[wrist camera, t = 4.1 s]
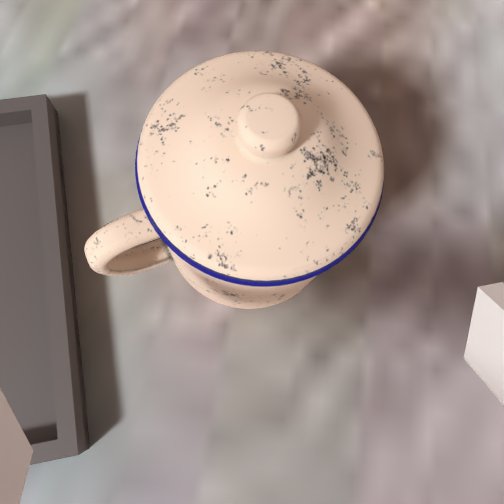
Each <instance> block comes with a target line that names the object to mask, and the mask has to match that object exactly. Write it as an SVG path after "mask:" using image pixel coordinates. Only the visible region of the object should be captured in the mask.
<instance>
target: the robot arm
mask: <svg viewBox="0 0 504 504" xmlns="http://www.w3.org/2000/svg"><path fill="white" fill-rule="evenodd" d="M464 359H465V360H466V362H467V363H468V364H469V365H470V366H471V367H472V369H473V370H474V371H475V372H476V373H477V375H478V376H479V377H480V378H481V379H482V380H483V382H484V383H485V384H486V385H487V386H488V388H489V389H490V390H491V391H492V392H493V394H494V395H495V396H496V397H497V398H498V399H499V401H500V402H501V403H502V404H503V405H504V283H503V282H500V283H495V284H490V285H484V286H479V287H478V289H477V294H476V299H475V304H474V309H473V314H472V319H471V324H470V329H469V334H468V339H467V344H466V349H465V354H464ZM32 454H33V449H32V447H31V445H30V443H29V441H28V439H27V438H26V436H25V434H24V432H23V430H22V428H21V426H20V424H19V423H18V421H17V419H16V417H15V415H14V413H13V411H12V409H11V408H10V406H9V404H8V402H7V400H6V398H5V396H4V395H3V393H2V391H1V389H0V504H19V503H20V499H21V495H22V491H23V488H24V484H25V480H26V476H27V472H28V469H29V465H30V461H31V457H32Z"/></svg>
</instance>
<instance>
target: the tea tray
mask: <svg viewBox="0 0 504 504" xmlns="http://www.w3.org/2000/svg"><path fill="white" fill-rule="evenodd" d="M0 389H1V391H2V393H3V395H4V396H5V398H6V400H7V402H8V404H9V406H10V408H11V409H12V411H13V413H14V415H15V417H16V419H17V421H18V423H19V424H20V426H21V428H22V430H23V432H24V434H25V436H26V438H27V439H28V441H29V443H30V445H31V447H32V449H33V454H32V457H31V461H30V465H32V464H36V463H41V462H46V461H51V460H56V459H61V458H66V457H70V456H75V455H79V454H80V453H82V452H84V451H85V450H87V449H89V448H90V446H89V436H88V425H87V415H86V404H85V394H84V383H83V373H82V362H81V352H80V342H79V331H78V321H77V310H76V300H75V289H74V279H73V268H72V258H71V247H70V237H69V227H68V216H67V206H66V195H65V185H64V174H63V164H62V153H61V143H60V132H59V122H58V113H57V111H56V110H55V108H54V106H53V105H52V103H51V102H50V100H49V99H48V97H47V95H46V94H44V95H36V96H28V97H19V98H11V99H3V100H0Z"/></svg>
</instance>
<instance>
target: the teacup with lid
mask: <svg viewBox="0 0 504 504" xmlns="http://www.w3.org/2000/svg"><path fill="white" fill-rule="evenodd" d="M135 175H136V183H137V189H138V193H139V197H140V200H141V203H142V206H143V209H141V210H138V211H136V212H133V213H130V214H128V215H125V216H123V217H121V218H118V219H116V220H114V221H112V222H110V223H108V224H106V225H105V226H103V227H102V228H100V229H99V230H97V231H96V232H95V233H94V234H93V235H92V236H91V237H90V238H89V239H88V240H87V242H86V244H85V249H84V251H85V255H86V258H87V260H88V263H89V265H90V267H91V268H92V269H93V270H94V271H95V272H97V273H100V274H103V275H110V276H120V275H129V274H134V273H139V272H142V271H146V270H149V269H152V268H155V267H158V266H160V265H163V264H166V263H168V262H171V261H174V262H175V264H176V266H177V268H178V269H179V271H180V272H181V274H182V275H183V277H184V278H185V279H186V280H187V281H188V282H189V283H190V285H191V286H193V287H194V288H195V289H196V290H197V291H198V292H200V293H201V294H203V295H204V296H206V297H207V298H209V299H211V300H213V301H215V302H218V303H220V304H223V305H226V306H230V307H235V308H242V309H255V308H264V307H269V306H272V305H276V304H278V303H281V302H283V301H285V300H287V299H289V298H291V297H293V296H294V295H296V294H297V293H298V292H300V291H301V290H302V289H303V288H304V287H305V286H307V285H308V284H309V283H310V282H311V281H312V280H313V279H314V278H315V277H316V276H317V275H319V274H321V273H323V272H325V271H327V270H328V269H330V268H331V267H333V266H335V265H336V264H338V263H339V262H340V261H341V260H343V259H344V258H345V257H346V256H347V255H348V254H349V253H351V252H352V251H353V250H354V249H355V248H356V246H357V245H358V244H359V243H360V241H361V240H362V239H363V238H364V236H365V235H366V233H367V232H368V230H369V228H370V226H371V225H372V223H373V221H374V219H375V216H376V214H377V211H378V208H379V205H380V201H381V198H382V192H383V184H384V159H383V153H382V147H381V143H380V139H379V136H378V134H377V131H376V128H375V126H374V124H373V122H372V120H371V118H370V116H369V114H368V112H367V111H366V109H365V108H364V106H363V105H362V103H361V102H360V101H359V99H358V98H357V97H356V96H355V95H354V93H353V92H352V91H351V90H350V89H349V88H348V87H347V86H346V85H345V84H344V83H342V82H341V81H340V80H339V79H337V78H336V77H335V76H334V75H332V74H331V73H329V72H328V71H326V70H324V69H323V68H321V67H319V66H317V65H315V64H313V63H311V62H308V61H306V60H304V59H301V58H298V57H295V56H291V55H287V54H283V53H277V52H269V51H245V52H236V53H231V54H226V55H223V56H219V57H216V58H213V59H211V60H208V61H206V62H204V63H202V64H200V65H198V66H196V67H194V68H192V69H191V70H189V71H187V72H186V73H184V74H183V75H182V76H181V77H179V78H178V79H177V80H175V81H174V82H173V83H172V84H171V85H170V86H169V87H168V88H167V89H166V90H165V91H164V92H163V94H162V95H161V96H160V97H159V99H158V100H157V101H156V103H155V104H154V106H153V107H152V109H151V111H150V113H149V114H148V117H147V119H146V121H145V123H144V126H143V129H142V131H141V134H140V138H139V141H138V146H137V151H136V161H135ZM158 237H160V238H158ZM155 238H158V239H155ZM153 239H155V240H153ZM150 240H153V241H150ZM147 241H150V242H147ZM145 242H147V243H145ZM142 243H144V244H142ZM140 244H141V245H140Z"/></svg>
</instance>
